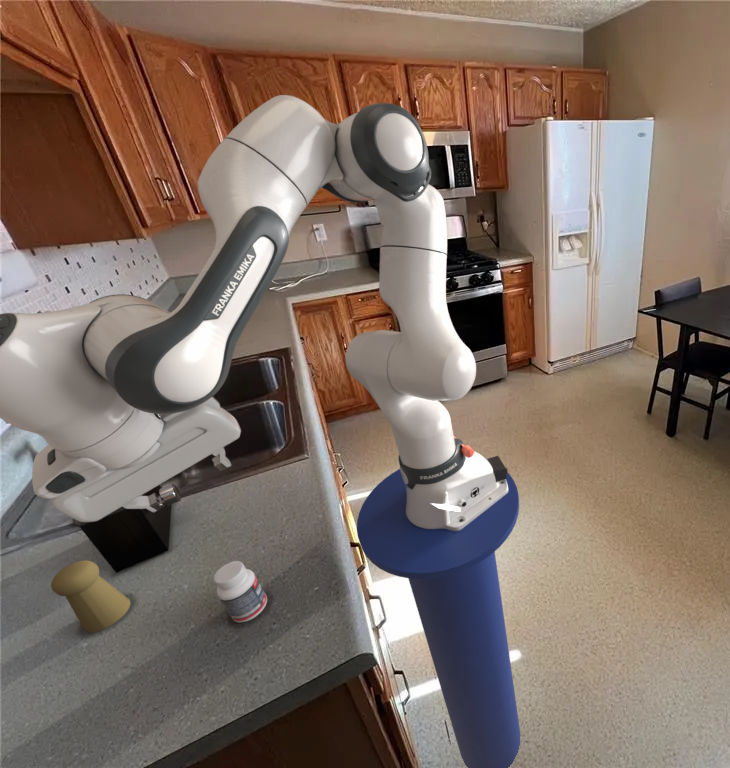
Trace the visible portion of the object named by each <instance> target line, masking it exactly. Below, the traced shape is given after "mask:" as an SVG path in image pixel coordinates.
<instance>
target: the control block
mask: <svg viewBox="0 0 730 768" xmlns="http://www.w3.org/2000/svg"><path fill="white" fill-rule="evenodd" d="M160 488H162V487H161V484H160V485H158V486H156V487H154V488H153V489H151V490H149V491H148V492H146V493H144V494H143V495H141V496H150V495H152V494H153V493H155V494H157V495H160V494H159V489H160ZM172 505H173V504H171V505H168V506H166V505H165V506H164V507H162V508H160V509H159V510H157V511H155V512H151V511H150V510H148V509H146V508H144V509H126V508H124V507H120V508H119V509H117V510H115V511H113V512H112V513H110V514H108V515H107V516H105V517H103V518H102V519H100V520H98V521H94V522H81V523H80V526H78V527H79V528H80V530H81V531H82V532H83V534H84V535H85V536H86V537H87V539H89V541H90V542H91V543H92V545H93V546H94V547H95V548H96V550H97V551H98V553H100V555H101V556H102V557H103V559H104V560H105V561H106V562H107V563H108V565H109V566H110V567H111V569H112V570H113V571H114V572H115V574H117V573H119V572H122V571H124V570H126V569H130V568H132V567H133V566H136V565H138V564H140V563H143V562H145V561H148V560H149V559H153V558H156V557H158V556H160V555H162V554H164V553H166V552H168V551H169V550H170V548H169V547H170V534H171V521H172V520H171V519H172Z"/></svg>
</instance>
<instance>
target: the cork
mask: <svg viewBox="0 0 730 768" xmlns="http://www.w3.org/2000/svg"><path fill="white" fill-rule="evenodd" d="M50 586H51V590H52V592H54V593H55V594H56V595H58V596H59V597H65V599H66V600H67V602H68V603H69V605H70V607H71V609H72V611H73V612H74V614H75V616H76V618H77V619H78V622H79V623H80V625H81V627H82V628H83V630H84V631H85V632H86V633H91V634H92V633H97V632H101V631H103V630H106V629H107V628H108V627H109V628H110V627H111V626H112V625H114V624H115V623H117V622H118V621H119V620H120V619H122V618H123V617H124V616H125V615H126V613H127V612H128V611H129V609H130V606H131V600H130V599H129V598H128V597H127V596H125V595H124V594H123V593H121V592H120V591H119V590H118V589H117V588H116V587H114V586H113V585H112V584H110V583H109V582H108V581H106V580H105V579H104V578H103V577H101V576H100V568H99V566H98V565H97V564H96V563H95V562H93V561H91V560H79V561H76V562H73V563H71V564H69V565H66V566H65V567H64V568H62V569H61V570H60V571H58V572H57V573H56V574H55V575H54V576H53V577H52V580H51V583H50Z"/></svg>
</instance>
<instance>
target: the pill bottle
mask: <svg viewBox="0 0 730 768" xmlns="http://www.w3.org/2000/svg"><path fill="white" fill-rule="evenodd" d="M213 581H214V583H215V585H216V586H217V588H216V595H217V598H218V599H219V600H220V602H221V603H222V604H223V607H225V609H226V611H227V613H228V614H229V616H230V618H231V619H232V620H233V622H235V623H238V624H239V623H245V622H249V621H251V620H253V619H254V618H256V617H257V616H259V615H260V614H261V613H262V611H263V610H264V609H265V607H266V606H267V603H268V596H267V594H266V592H265V590H264V589H263V587H262V585H261V583H260V582H259V579H258V578H257V576H256V574H255V573H254V571H252V570H251V569H249V568H246V566H245V565H244V563H243V562H242V561H240V560H233V561H230V562H227V563H226V564H224V565H222V566H221V567H219V569H218V570H217V571H216V572H215V573H214V576H213Z"/></svg>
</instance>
